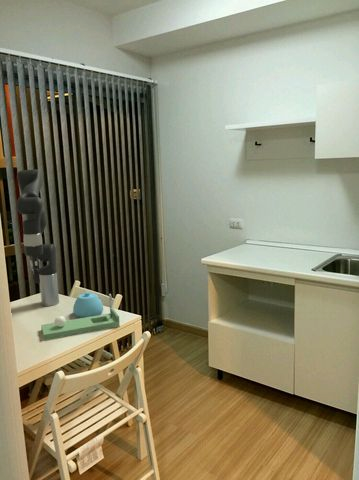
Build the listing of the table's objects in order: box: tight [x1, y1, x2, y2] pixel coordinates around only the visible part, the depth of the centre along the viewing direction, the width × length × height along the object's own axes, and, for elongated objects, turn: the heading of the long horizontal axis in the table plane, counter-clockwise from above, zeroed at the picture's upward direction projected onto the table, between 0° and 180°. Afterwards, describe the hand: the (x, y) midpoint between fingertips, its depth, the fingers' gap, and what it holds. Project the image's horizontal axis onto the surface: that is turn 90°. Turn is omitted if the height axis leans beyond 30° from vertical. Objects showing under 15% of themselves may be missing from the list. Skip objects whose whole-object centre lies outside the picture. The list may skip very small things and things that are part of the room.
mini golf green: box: [40, 307, 120, 341], centre depth 191 cm, size 12×34×5 cm, turn 114°
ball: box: [54, 315, 67, 327], centre depth 187 cm, size 5×5×5 cm
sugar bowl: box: [72, 291, 104, 319], centre depth 208 cm, size 15×15×12 cm
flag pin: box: [108, 293, 113, 318], centre depth 194 cm, size 4×1×12 cm, turn 24°
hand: (36, 280), depth 179 cm, fingers open, 6 cm apart
